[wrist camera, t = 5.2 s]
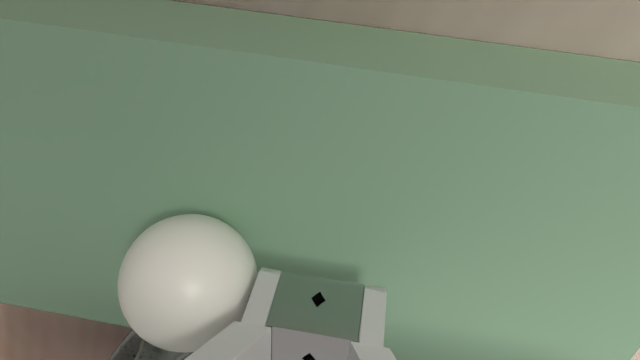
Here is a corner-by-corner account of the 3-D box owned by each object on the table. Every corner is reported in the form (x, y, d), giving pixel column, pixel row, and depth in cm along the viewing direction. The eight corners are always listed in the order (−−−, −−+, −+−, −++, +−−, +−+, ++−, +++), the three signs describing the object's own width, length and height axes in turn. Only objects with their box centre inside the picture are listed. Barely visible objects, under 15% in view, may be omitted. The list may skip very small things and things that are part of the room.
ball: (102, 198, 11) (114, 304, 9) (239, 178, 12) (279, 267, 10) (120, 291, 13) (133, 399, 11) (237, 266, 14) (271, 358, 12)
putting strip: (-293, -61, 13) (-611, -12, 9) (737, 75, 11) (925, 220, 7) (-121, 220, 19) (-265, 326, 15) (566, 344, 17) (613, 506, 13)
